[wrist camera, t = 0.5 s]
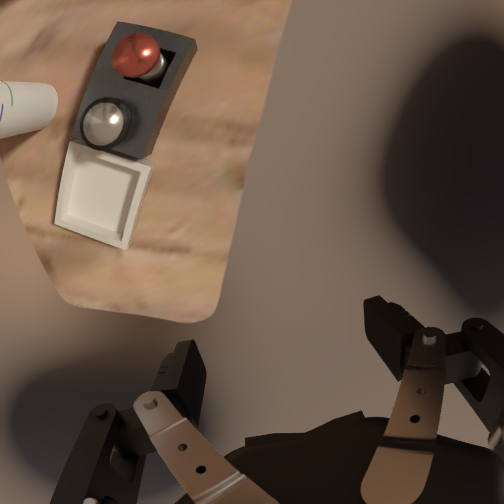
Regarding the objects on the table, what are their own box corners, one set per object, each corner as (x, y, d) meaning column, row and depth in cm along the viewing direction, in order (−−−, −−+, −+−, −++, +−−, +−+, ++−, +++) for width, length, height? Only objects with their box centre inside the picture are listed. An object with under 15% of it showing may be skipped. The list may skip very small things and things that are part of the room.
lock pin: (135, 82, 28) (104, 70, 18) (149, 52, 26) (124, 29, 16) (166, 91, 29) (145, 81, 19) (180, 61, 27) (166, 38, 18)
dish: (63, 216, 34) (54, 223, 32) (79, 138, 30) (69, 141, 27) (131, 241, 38) (126, 250, 35) (155, 162, 33) (151, 167, 31)
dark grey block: (87, 133, 30) (58, 140, 22) (129, 31, 24) (108, 13, 17) (151, 153, 33) (134, 164, 25) (197, 49, 27) (193, 31, 20)
